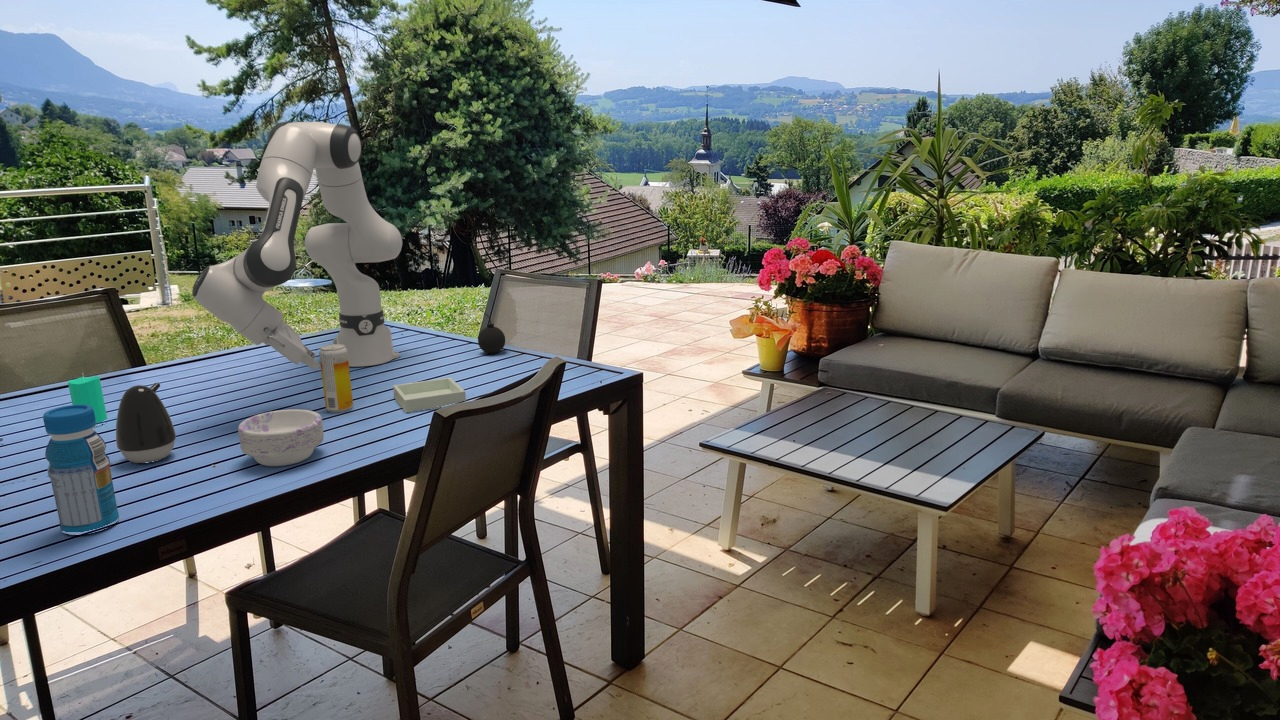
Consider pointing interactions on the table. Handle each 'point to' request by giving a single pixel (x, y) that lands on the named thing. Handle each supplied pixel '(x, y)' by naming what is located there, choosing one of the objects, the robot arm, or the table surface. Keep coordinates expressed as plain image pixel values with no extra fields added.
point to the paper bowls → (281, 436)
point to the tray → (428, 394)
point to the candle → (88, 395)
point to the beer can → (336, 378)
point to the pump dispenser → (144, 426)
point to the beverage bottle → (79, 469)
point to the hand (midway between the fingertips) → (315, 362)
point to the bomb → (491, 339)
